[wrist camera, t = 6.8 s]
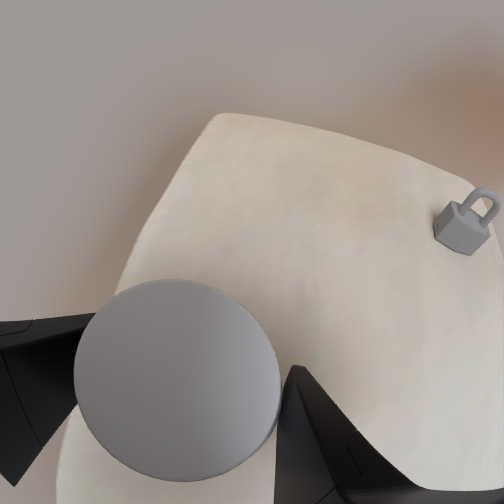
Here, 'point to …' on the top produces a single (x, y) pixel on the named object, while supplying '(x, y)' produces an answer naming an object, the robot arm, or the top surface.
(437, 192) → the top surface
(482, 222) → the padlock
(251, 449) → the pill bottle
